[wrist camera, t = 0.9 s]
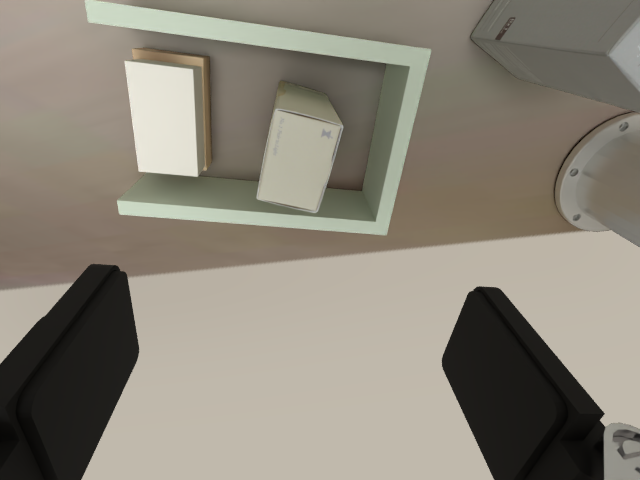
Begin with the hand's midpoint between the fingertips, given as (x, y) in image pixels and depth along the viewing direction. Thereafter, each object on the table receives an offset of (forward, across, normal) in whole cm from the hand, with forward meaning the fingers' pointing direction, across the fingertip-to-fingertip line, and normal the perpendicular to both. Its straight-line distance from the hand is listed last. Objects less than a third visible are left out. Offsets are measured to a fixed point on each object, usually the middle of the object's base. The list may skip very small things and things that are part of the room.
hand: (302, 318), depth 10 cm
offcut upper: (+24, +10, 0) cm, 26 cm away
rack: (+26, +2, 0) cm, 26 cm away
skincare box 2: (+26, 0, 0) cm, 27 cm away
